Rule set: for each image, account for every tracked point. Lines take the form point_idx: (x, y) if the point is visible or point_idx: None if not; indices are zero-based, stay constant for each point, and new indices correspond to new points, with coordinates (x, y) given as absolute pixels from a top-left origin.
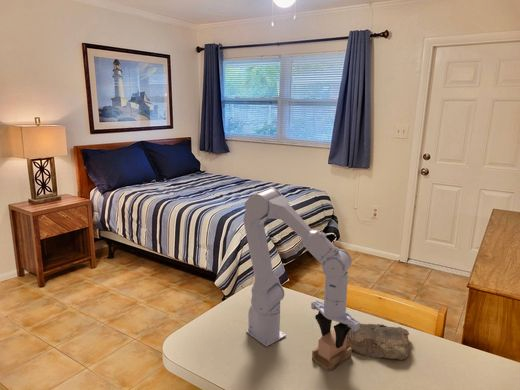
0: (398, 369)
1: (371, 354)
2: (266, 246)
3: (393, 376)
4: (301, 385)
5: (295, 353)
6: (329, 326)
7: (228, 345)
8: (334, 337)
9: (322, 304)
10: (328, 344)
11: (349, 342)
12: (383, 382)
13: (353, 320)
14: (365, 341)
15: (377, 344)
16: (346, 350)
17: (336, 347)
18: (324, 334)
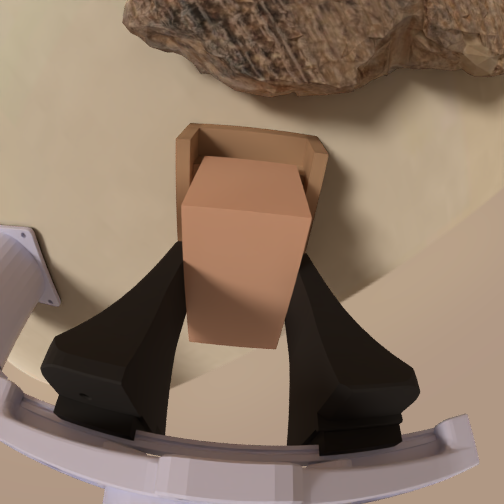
0: (500, 100)
1: (401, 67)
2: None
3: (492, 151)
4: (251, 351)
5: (126, 274)
6: (169, 304)
7: (35, 336)
8: (247, 290)
9: (50, 465)
10: (259, 346)
11: (278, 91)
12: (468, 202)
13: (432, 470)
14: (378, 47)
15: (450, 50)
16: (312, 193)
17: None
18: (184, 311)
